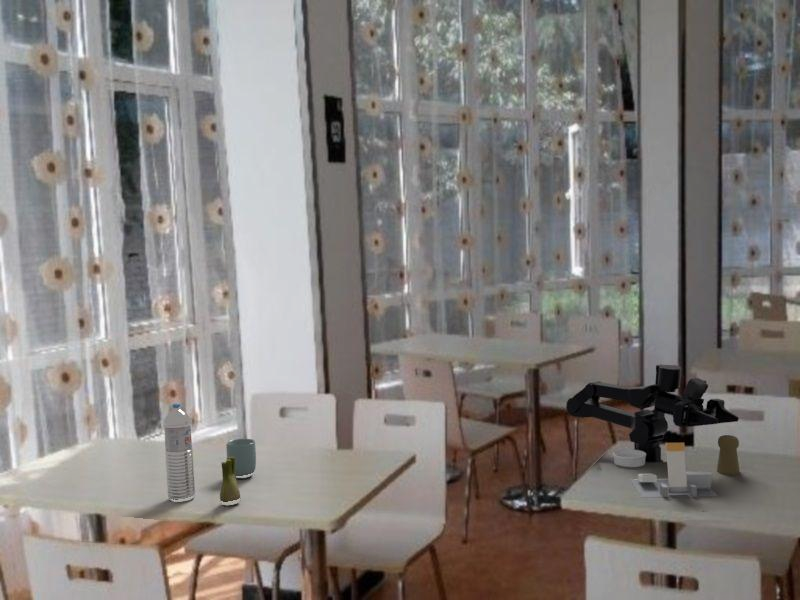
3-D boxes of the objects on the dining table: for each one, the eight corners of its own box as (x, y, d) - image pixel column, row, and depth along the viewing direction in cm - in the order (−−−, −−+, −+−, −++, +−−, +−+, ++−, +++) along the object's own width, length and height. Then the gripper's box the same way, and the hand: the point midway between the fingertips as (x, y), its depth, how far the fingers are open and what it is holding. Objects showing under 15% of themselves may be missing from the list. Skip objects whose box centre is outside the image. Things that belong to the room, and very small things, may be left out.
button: (682, 479, 224) (682, 470, 223) (697, 479, 223) (697, 470, 223) (686, 484, 220) (686, 474, 220) (701, 484, 220) (701, 474, 219)
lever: (668, 493, 214) (664, 442, 216) (686, 493, 214) (683, 442, 216) (669, 493, 213) (666, 442, 215) (688, 493, 212) (684, 442, 214)
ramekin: (610, 471, 240) (610, 456, 239) (615, 463, 248) (615, 447, 248) (644, 474, 236) (644, 458, 236) (647, 465, 245) (647, 450, 244)
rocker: (638, 480, 225) (637, 473, 225) (652, 480, 225) (652, 473, 225) (642, 482, 220) (641, 475, 220) (656, 481, 220) (656, 474, 220)
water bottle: (181, 504, 223) (175, 407, 221) (162, 501, 227) (156, 405, 225) (200, 497, 229) (195, 402, 227) (182, 493, 233) (176, 400, 230)
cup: (222, 480, 244) (220, 444, 243) (238, 472, 251) (236, 437, 250) (247, 482, 241) (245, 446, 240) (261, 474, 248) (260, 439, 247)
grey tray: (629, 484, 228) (629, 469, 227) (700, 483, 227) (700, 468, 226) (641, 503, 213) (641, 487, 212) (717, 502, 212) (718, 486, 211)
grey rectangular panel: (684, 487, 218) (685, 471, 216) (709, 486, 217) (710, 471, 215) (685, 490, 216) (687, 475, 214) (710, 490, 216) (712, 474, 214)
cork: (742, 480, 228) (742, 439, 227) (717, 480, 229) (717, 438, 228) (738, 474, 234) (738, 433, 233) (714, 473, 235) (714, 432, 234)
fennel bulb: (226, 509, 219) (224, 462, 217) (214, 505, 222) (212, 459, 221) (245, 503, 223) (243, 457, 222) (233, 499, 226) (231, 454, 225)
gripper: (659, 377, 231) (711, 391, 219) (700, 375, 243) (752, 388, 230) (653, 419, 232) (705, 435, 220) (695, 414, 244) (746, 429, 232)
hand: (728, 420), depth 226 cm, fingers open, 9 cm apart
